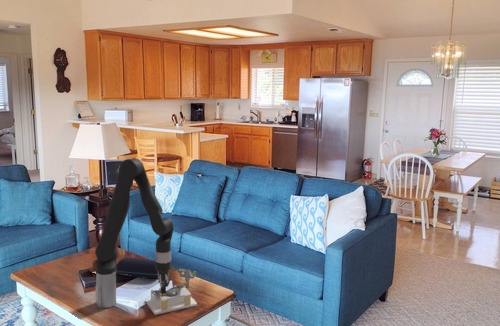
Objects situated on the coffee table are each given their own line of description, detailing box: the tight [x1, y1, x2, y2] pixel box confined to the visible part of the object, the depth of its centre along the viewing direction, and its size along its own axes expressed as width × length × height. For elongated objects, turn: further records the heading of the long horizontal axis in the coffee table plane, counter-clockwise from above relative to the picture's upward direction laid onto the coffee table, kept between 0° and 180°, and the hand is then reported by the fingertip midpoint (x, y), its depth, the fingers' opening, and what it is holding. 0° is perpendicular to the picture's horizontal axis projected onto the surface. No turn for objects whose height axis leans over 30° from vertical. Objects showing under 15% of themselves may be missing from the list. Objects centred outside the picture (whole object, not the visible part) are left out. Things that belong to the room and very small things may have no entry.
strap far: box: [176, 281, 188, 289], centre depth 229 cm, size 2×12×2 cm, turn 30°
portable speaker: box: [116, 257, 158, 279], centre depth 255 cm, size 25×10×10 cm, turn 85°
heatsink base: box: [146, 283, 198, 316], centre depth 226 cm, size 22×15×6 cm
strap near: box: [154, 289, 166, 297], centre depth 222 cm, size 2×12×2 cm, turn 30°
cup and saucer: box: [88, 259, 97, 270], centre depth 259 cm, size 12×12×6 cm
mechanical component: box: [177, 268, 198, 289], centre depth 244 cm, size 3×10×10 cm, turn 79°
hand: (163, 293), depth 218 cm, fingers closed
